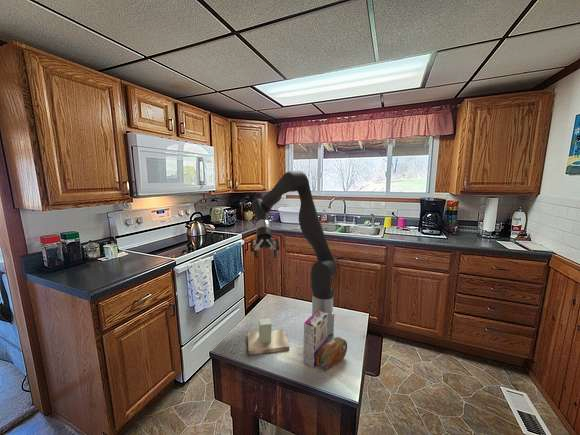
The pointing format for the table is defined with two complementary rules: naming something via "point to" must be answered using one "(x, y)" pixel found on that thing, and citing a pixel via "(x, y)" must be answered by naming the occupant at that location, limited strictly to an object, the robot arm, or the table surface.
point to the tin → (331, 353)
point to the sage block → (265, 330)
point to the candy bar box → (315, 336)
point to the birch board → (275, 345)
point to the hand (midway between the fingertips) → (265, 258)
